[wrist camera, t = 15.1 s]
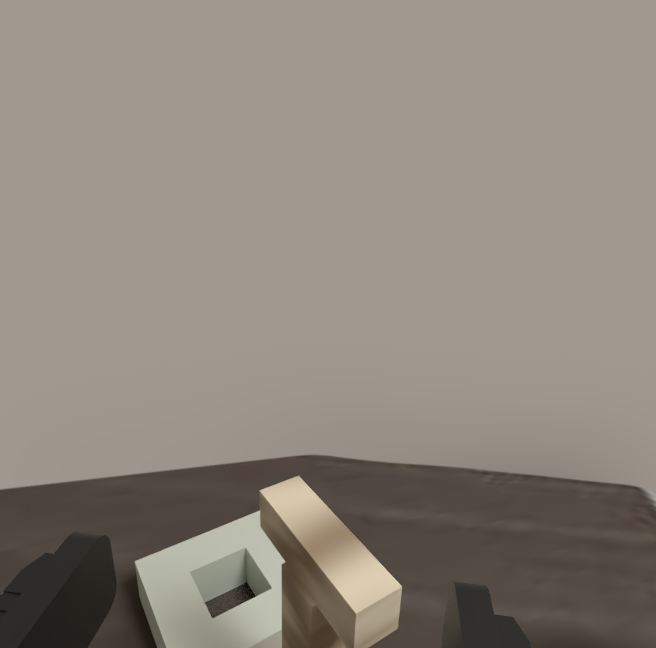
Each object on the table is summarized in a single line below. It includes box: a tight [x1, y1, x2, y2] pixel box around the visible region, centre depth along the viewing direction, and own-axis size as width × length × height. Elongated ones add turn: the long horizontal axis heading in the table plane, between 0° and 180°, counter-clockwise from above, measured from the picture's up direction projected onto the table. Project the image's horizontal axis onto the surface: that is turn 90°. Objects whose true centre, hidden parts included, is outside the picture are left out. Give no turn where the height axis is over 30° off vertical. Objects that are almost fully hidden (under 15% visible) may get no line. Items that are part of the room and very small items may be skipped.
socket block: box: [135, 511, 285, 648], centre depth 40 cm, size 12×12×4 cm
